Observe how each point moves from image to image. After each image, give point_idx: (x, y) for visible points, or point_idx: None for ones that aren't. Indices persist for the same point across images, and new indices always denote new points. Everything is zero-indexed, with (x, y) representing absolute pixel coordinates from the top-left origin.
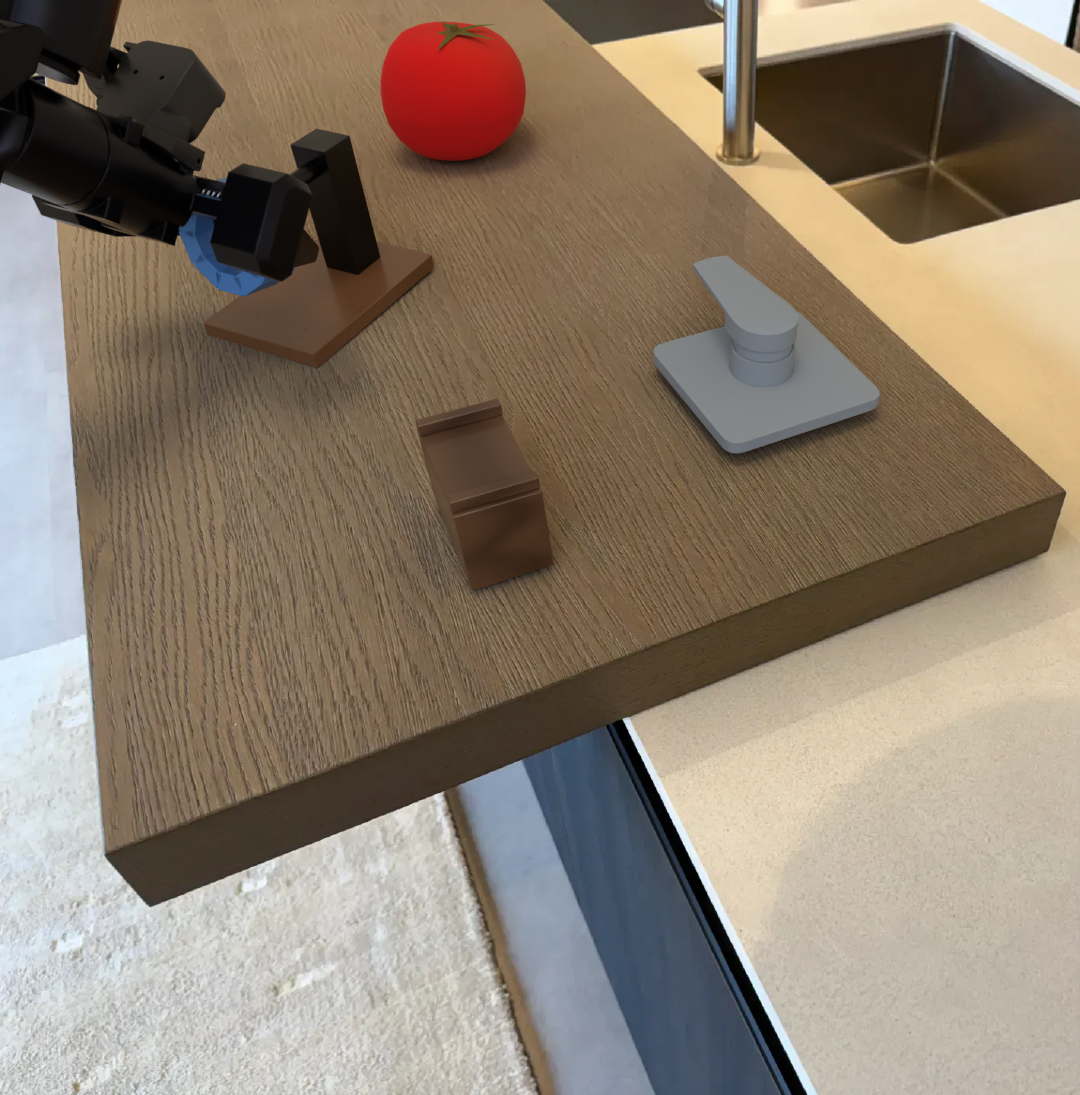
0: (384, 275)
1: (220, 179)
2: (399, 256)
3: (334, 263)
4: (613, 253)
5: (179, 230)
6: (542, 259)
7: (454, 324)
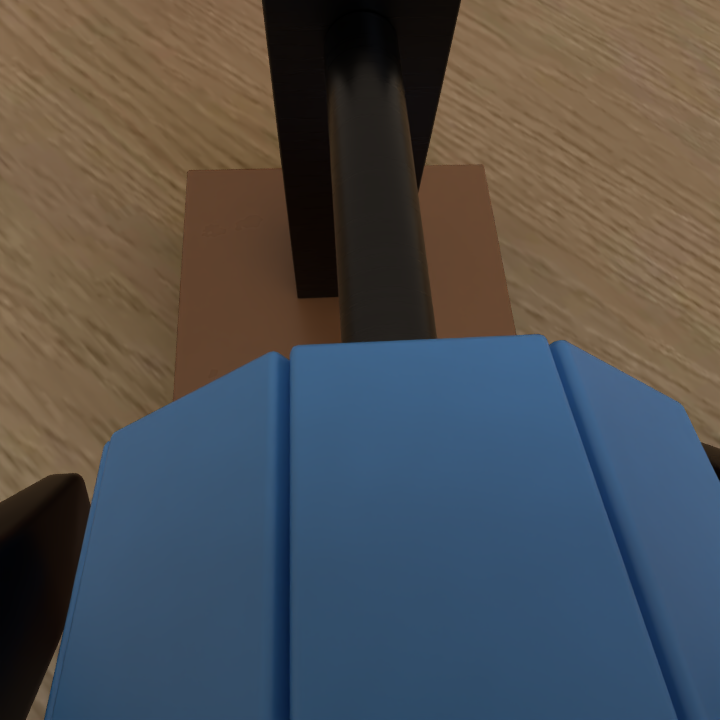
0: (452, 269)
1: (306, 485)
2: (424, 195)
3: (328, 288)
4: (688, 30)
5: (11, 713)
6: (598, 84)
7: (631, 320)
